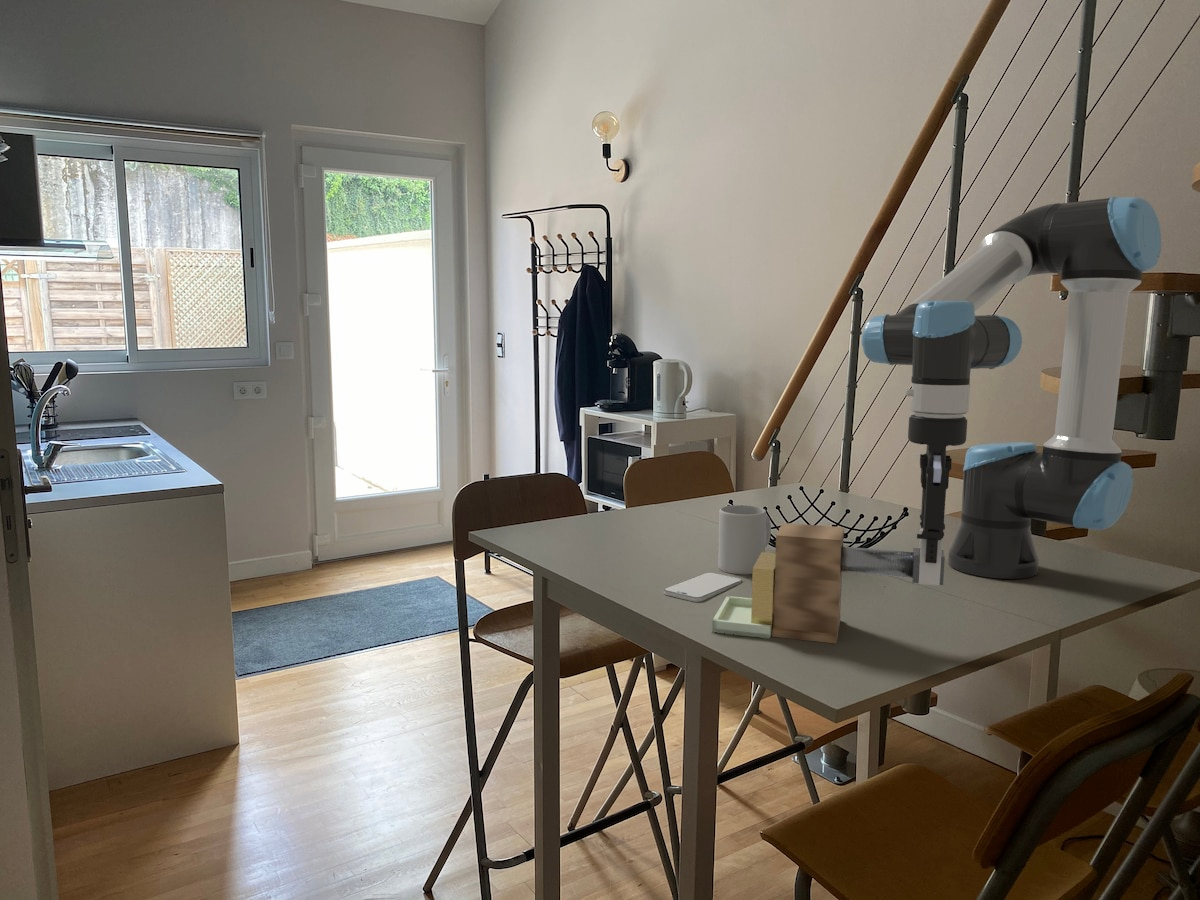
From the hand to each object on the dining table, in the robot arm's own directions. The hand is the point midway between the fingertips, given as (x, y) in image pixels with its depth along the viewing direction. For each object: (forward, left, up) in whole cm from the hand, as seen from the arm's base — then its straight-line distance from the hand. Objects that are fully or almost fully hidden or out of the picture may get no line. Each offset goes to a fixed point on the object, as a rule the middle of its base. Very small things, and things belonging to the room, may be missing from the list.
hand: (928, 578), depth 125 cm
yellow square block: (+23, 0, -9) cm, 24 cm away
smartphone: (+35, -15, -10) cm, 39 cm away
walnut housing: (+16, 0, -9) cm, 19 cm away
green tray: (+25, 0, -9) cm, 27 cm away
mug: (+30, -30, -9) cm, 43 cm away
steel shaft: (+8, 0, 0) cm, 8 cm away
